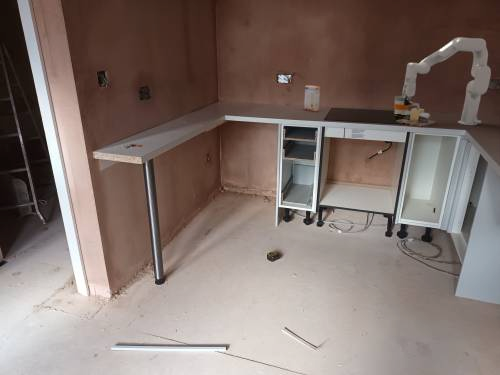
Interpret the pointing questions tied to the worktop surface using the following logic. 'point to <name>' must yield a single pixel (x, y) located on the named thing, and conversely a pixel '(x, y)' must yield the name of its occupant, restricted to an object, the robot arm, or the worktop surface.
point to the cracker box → (312, 98)
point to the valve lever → (414, 104)
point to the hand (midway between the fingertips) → (406, 105)
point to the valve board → (422, 123)
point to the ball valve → (417, 114)
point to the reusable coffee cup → (400, 105)
